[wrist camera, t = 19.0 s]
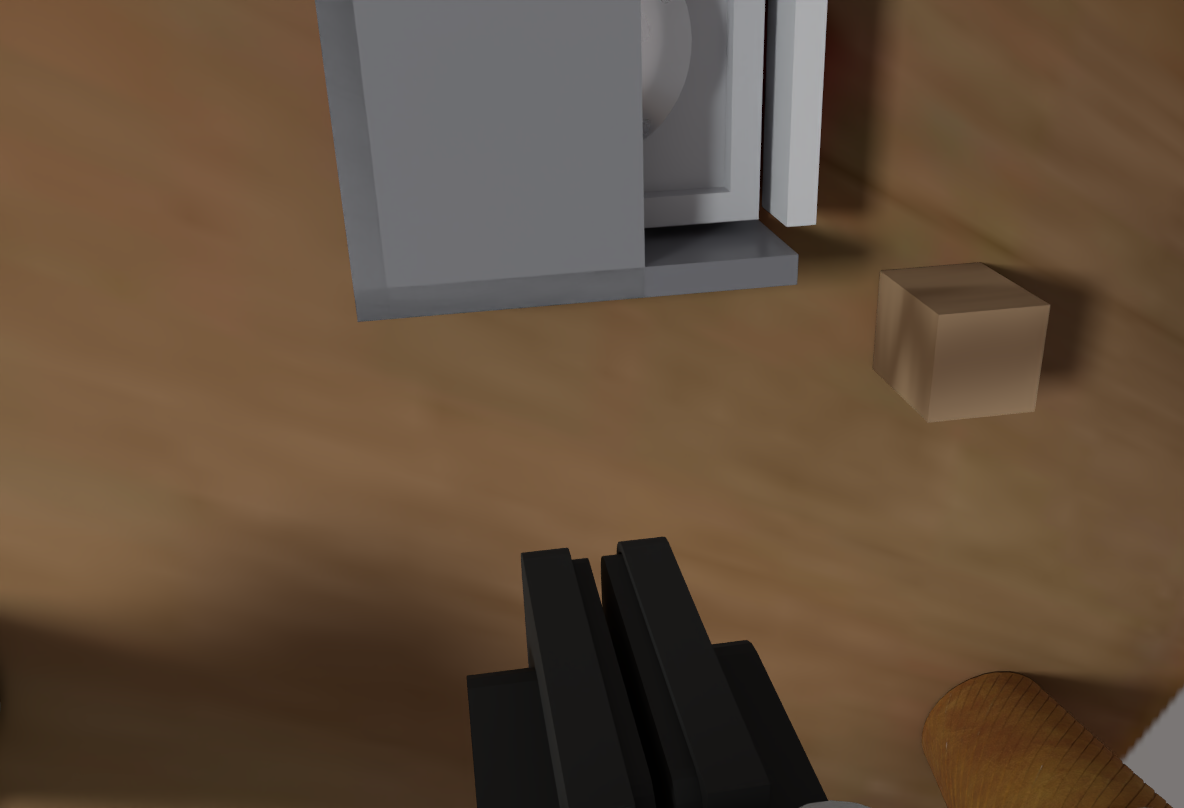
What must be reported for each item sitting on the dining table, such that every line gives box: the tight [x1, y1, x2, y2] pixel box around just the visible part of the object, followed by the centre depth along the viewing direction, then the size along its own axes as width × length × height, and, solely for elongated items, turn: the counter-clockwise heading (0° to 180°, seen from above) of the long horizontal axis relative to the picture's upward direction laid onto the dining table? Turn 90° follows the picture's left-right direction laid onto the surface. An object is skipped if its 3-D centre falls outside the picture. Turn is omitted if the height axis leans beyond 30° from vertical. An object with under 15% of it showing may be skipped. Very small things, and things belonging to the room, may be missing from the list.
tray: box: [643, 0, 828, 228], centre depth 34 cm, size 12×14×3 cm
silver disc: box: [641, 0, 692, 140], centre depth 33 cm, size 7×7×2 cm
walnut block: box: [873, 262, 1050, 422], centre depth 40 cm, size 4×4×5 cm
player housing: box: [315, 0, 798, 322], centre depth 33 cm, size 15×14×5 cm
